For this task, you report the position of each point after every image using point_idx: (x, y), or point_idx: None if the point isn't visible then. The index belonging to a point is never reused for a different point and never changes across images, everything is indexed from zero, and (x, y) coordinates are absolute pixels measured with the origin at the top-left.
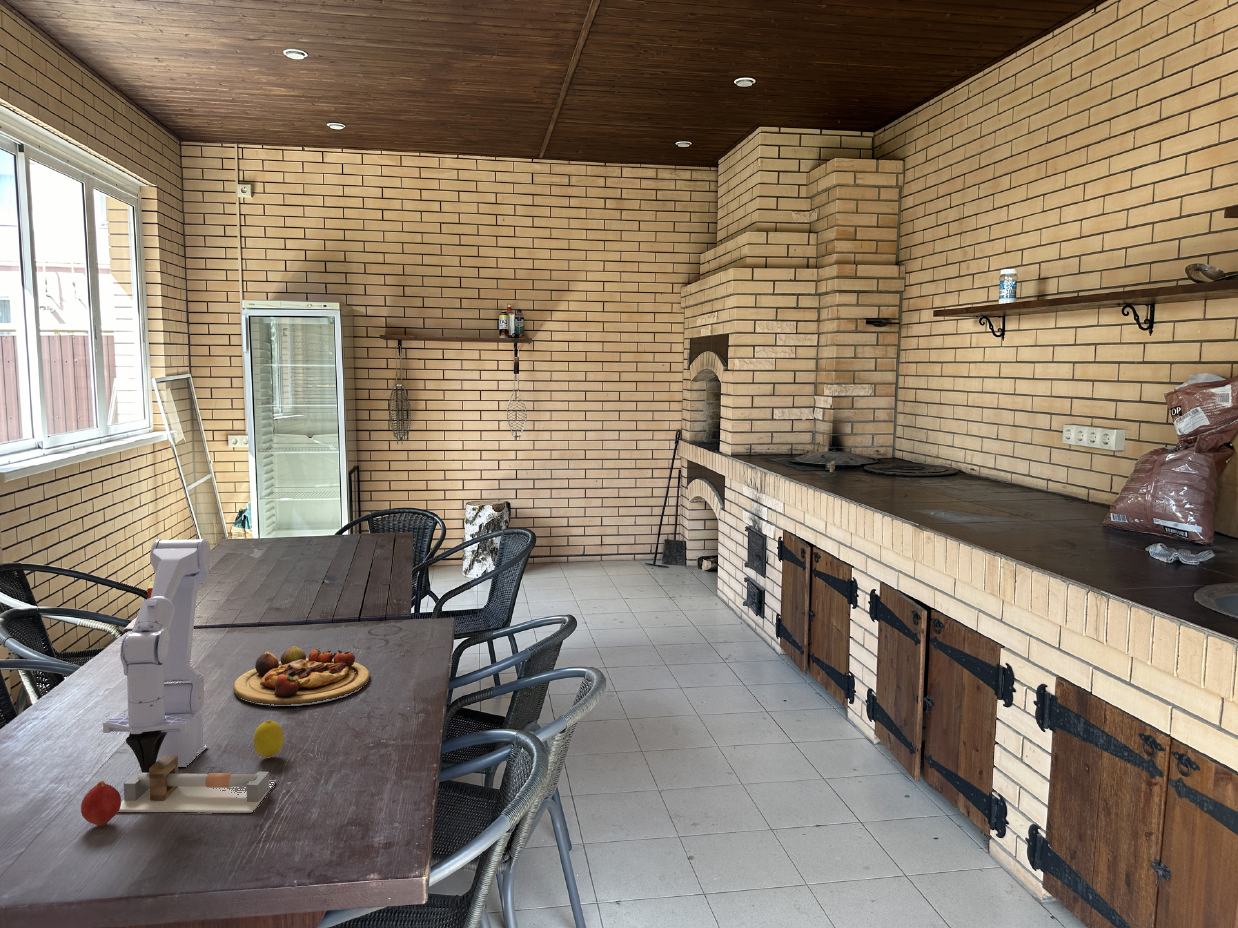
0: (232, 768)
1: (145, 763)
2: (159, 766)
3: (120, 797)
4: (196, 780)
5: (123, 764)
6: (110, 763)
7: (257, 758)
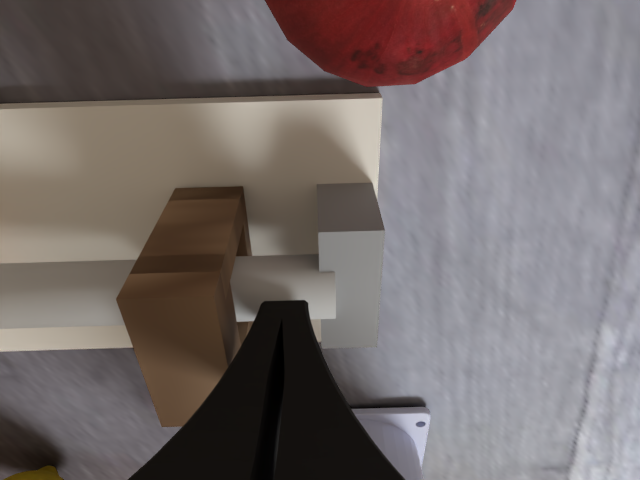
0: (119, 416)
1: (269, 338)
2: (163, 320)
3: (273, 14)
4: (4, 279)
5: (514, 417)
6: (561, 419)
7: (88, 463)
